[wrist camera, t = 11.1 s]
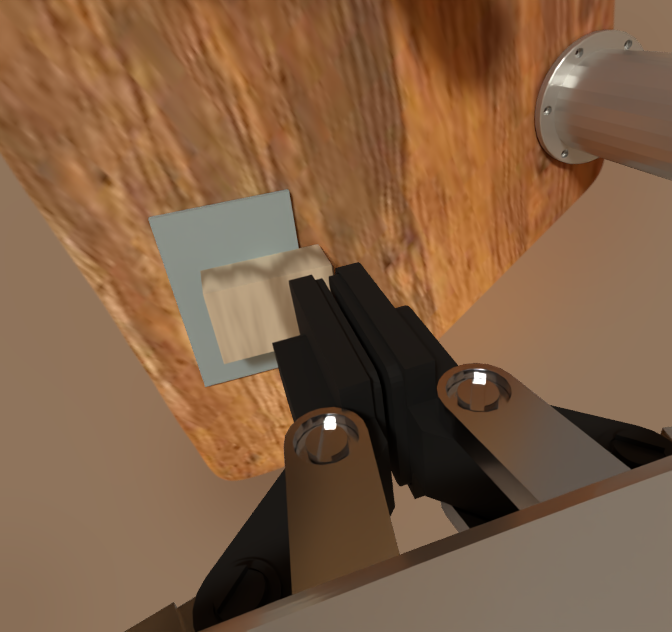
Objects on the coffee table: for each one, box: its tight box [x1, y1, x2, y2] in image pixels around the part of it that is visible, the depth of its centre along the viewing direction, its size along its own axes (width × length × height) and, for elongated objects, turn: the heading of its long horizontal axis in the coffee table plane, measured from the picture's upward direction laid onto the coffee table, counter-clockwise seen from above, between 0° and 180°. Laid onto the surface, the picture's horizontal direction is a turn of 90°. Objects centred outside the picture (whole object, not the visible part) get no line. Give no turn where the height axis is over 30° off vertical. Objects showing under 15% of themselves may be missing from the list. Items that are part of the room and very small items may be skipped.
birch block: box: [200, 244, 334, 364], centre depth 49 cm, size 5×8×12 cm
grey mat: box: [149, 189, 299, 387], centre depth 51 cm, size 13×20×1 cm, turn 7°
